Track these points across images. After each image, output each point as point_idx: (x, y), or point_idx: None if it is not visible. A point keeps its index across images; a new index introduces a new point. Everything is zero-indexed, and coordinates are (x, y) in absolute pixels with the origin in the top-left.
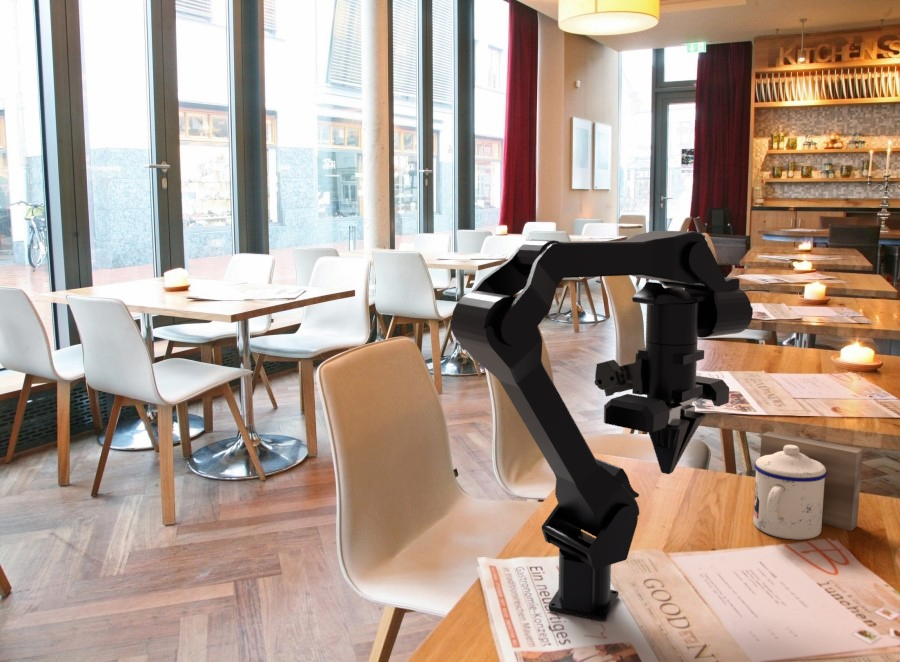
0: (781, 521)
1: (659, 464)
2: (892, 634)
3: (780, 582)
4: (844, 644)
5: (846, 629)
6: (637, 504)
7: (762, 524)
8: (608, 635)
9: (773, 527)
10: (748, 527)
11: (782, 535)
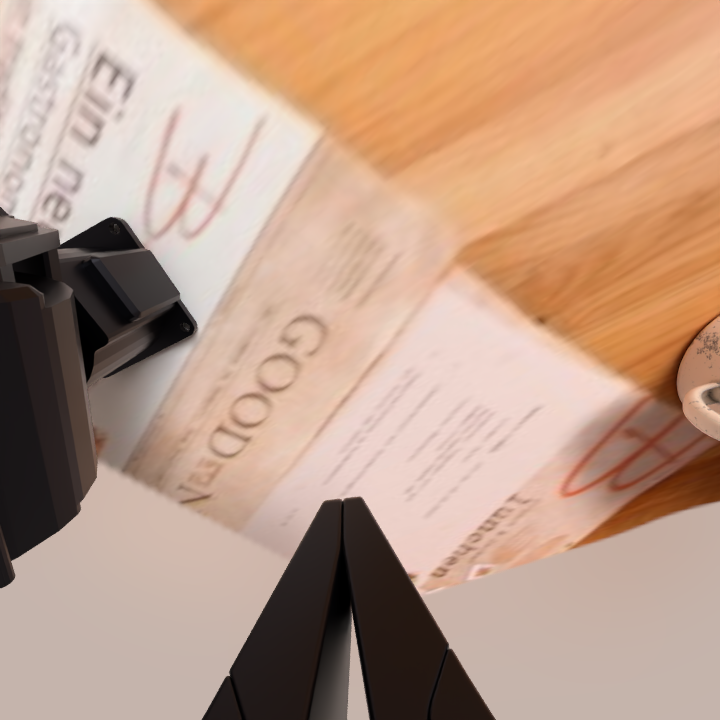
0: (710, 397)
1: (306, 537)
2: (429, 593)
3: (478, 464)
4: None
5: None
6: (31, 548)
7: (707, 347)
8: None
9: (695, 374)
10: (706, 306)
11: (680, 385)
